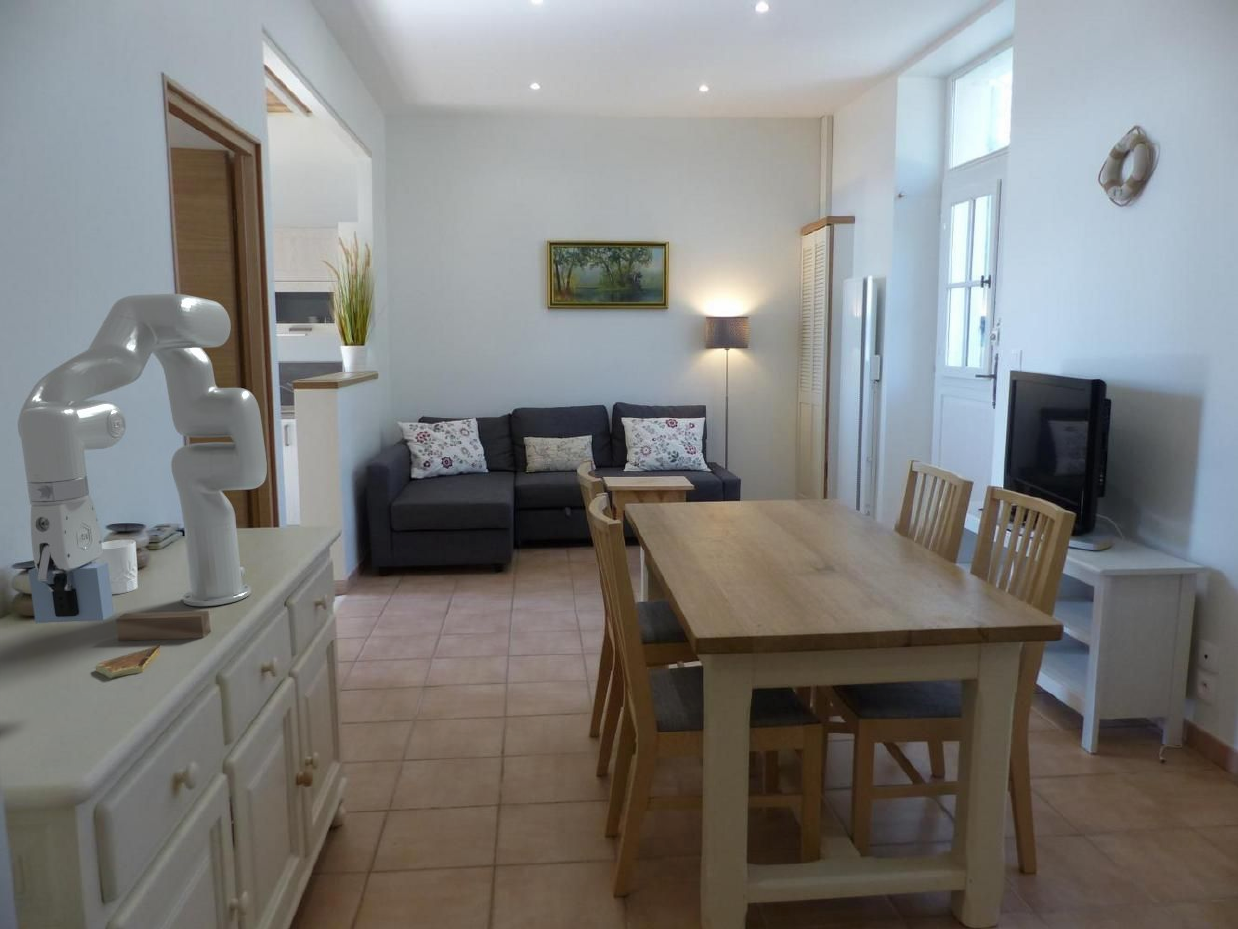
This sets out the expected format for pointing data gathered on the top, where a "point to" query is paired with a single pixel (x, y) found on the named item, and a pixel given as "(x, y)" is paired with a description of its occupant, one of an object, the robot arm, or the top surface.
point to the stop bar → (163, 625)
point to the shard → (128, 663)
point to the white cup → (120, 564)
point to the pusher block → (89, 590)
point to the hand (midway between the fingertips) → (74, 610)
